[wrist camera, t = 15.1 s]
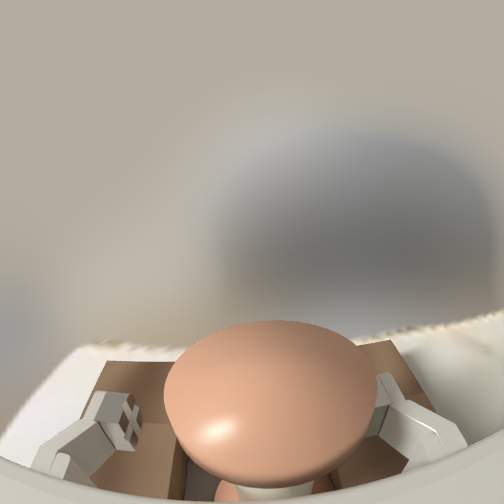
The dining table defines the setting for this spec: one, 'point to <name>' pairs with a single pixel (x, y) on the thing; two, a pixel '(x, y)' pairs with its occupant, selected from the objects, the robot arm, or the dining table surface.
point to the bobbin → (271, 407)
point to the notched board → (176, 460)
